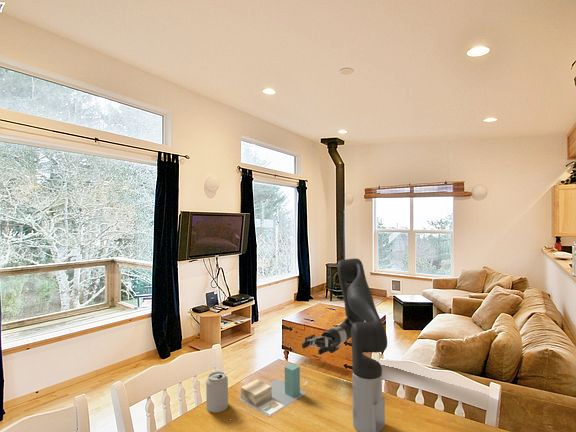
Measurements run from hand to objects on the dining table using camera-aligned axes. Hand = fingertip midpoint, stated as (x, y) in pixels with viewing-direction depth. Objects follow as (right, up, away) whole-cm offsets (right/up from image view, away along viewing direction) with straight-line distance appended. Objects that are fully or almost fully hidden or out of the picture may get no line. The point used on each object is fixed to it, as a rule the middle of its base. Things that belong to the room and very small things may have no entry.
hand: (310, 349), depth 135 cm
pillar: (-7, -13, -8) cm, 17 cm away
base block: (-21, -14, -11) cm, 27 cm away
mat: (-14, -14, -10) cm, 23 cm away
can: (-34, -15, -16) cm, 41 cm away
